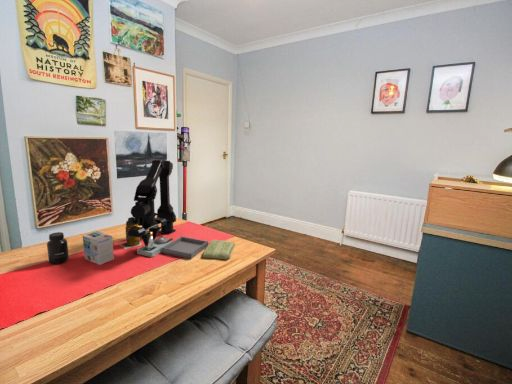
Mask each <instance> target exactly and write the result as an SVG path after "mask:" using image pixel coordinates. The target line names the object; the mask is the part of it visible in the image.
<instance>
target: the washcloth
mask: <svg viewBox="0 0 512 384" xmlns="http://www.w3.org/2000/svg"><path fill="white" fill-rule="evenodd" d="M235 245H236V243H235V242H234V241H227V240H223V239H222V240H217V239H211V240H210V241H208V246H207V247H206V248H205V249H203V250H204V251H203V253H202V257H203V258H204V259H219V260H229V259H230V258H231V257H232V251H233V249H234V247H235Z"/></svg>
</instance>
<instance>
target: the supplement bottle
mask: <svg viewBox="0 0 512 384" xmlns="http://www.w3.org/2000/svg"><path fill="white" fill-rule="evenodd" d="M47 241H48V242H47V243H46V251H47V257H48V263H49V264H50V265H61V264H64V263H66V262H68V261H69V259H70V256H69V255H70V254H69V246H68V245H69V244H68V240H67V239H66V238H65V235H64V232H62V231H61V232H60V231H58V232H53V233H50V234H49V235H48V240H47Z"/></svg>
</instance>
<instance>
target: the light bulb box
mask: <svg viewBox="0 0 512 384" xmlns="http://www.w3.org/2000/svg"><path fill="white" fill-rule="evenodd" d="M82 241H83V242H82V243H83V250H84V251H83V252H84V259H85V260H88V261H89V262H91V263H94V264H95V265H99V266H101V265H103V264H104V263H107V262H110V261H112V260H114V259H115V255H114V243H113V235H111V234H107V233H104V232H101V231H98V230H96V231H93V232H90V233H87V234H83V235H82Z"/></svg>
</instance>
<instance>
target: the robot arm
mask: <svg viewBox="0 0 512 384" xmlns="http://www.w3.org/2000/svg"><path fill="white" fill-rule="evenodd" d="M173 164H174V163H173V162H171V161H170V160H163V159H154V160H152V161H151V166H150V167H149V168H150V169H149V170H148V173H147V174H146V176H145V178H144V179H142V180H141V181H140V182H139V184H137V186H136V188H135V193H134V198H133V201H134V202H135V203H134V205H133V206H132V207H131V210H130V214H131V217H128V218H127V221H128V223H129V225H132V226H134V225H137V224H138V226H139V227H136V226H135V227H133V228H130V229H129V230H128V235H129V236H134V237H140V239H142V240H141V241H143V245H144V246H148V243H149V238H150V233H149V232H148V231H153V243H154V240H155V239H157V236H158V234H159V233H160V234H165V235H170V234H172V233H174V232H176V230H177V229H174V223H175V222H177V216H176V213H175V211H174V207H173V206H172V205H171V201H170V200H171V199H170V198H171V196H170V176H171V175H172V173H173V167H174V165H173ZM158 179H159V193H160V194H159V196H160V197H159V198H160V200H159V201H160V205H159V206H158V208H157V212H155V209H156V208H155V200H156V197H157V193H158V188H157V182H158Z"/></svg>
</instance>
